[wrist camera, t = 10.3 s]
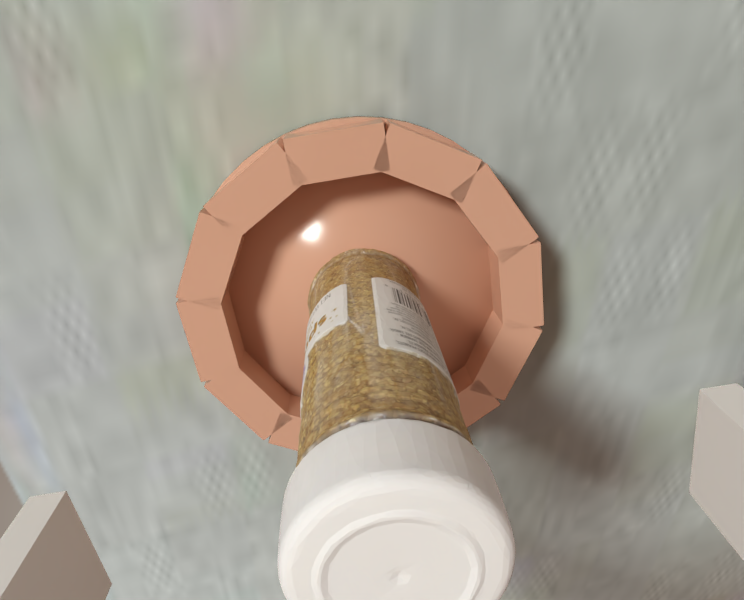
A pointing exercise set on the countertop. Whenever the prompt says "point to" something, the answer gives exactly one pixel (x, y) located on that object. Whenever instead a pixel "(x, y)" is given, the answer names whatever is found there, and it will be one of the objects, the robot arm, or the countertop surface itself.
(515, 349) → the saucer
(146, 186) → the countertop surface
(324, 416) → the sprinkles bottle
